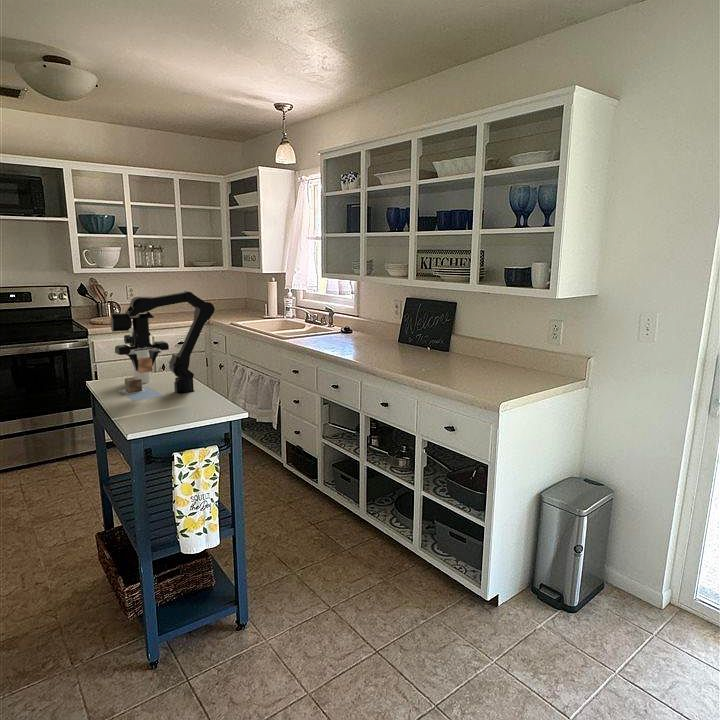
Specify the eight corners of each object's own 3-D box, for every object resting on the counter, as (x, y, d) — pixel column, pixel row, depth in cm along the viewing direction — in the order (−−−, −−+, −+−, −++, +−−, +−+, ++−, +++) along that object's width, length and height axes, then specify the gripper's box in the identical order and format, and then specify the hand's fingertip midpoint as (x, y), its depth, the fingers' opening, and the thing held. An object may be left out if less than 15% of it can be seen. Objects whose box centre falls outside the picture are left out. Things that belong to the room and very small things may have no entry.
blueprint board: (147, 387, 222) (147, 385, 222) (165, 397, 208) (164, 395, 208) (117, 392, 214) (117, 390, 214) (133, 402, 200) (133, 400, 200)
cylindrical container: (143, 380, 234) (139, 324, 229) (154, 382, 231) (151, 325, 226) (129, 383, 228) (125, 326, 222) (141, 385, 224) (137, 327, 219)
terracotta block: (148, 369, 208) (147, 356, 207) (152, 371, 205) (151, 358, 204) (135, 370, 205) (134, 358, 204) (139, 373, 201) (138, 360, 200)
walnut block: (137, 388, 218) (137, 376, 217) (142, 390, 214) (141, 379, 213) (125, 390, 215) (124, 378, 213) (129, 393, 211) (128, 380, 210)
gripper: (157, 325, 213) (159, 362, 217) (108, 329, 201) (112, 368, 204) (168, 328, 205) (170, 367, 208) (118, 333, 193) (121, 374, 196)
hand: (143, 369), depth 205 cm, fingers closed on terracotta block, 5 cm apart
